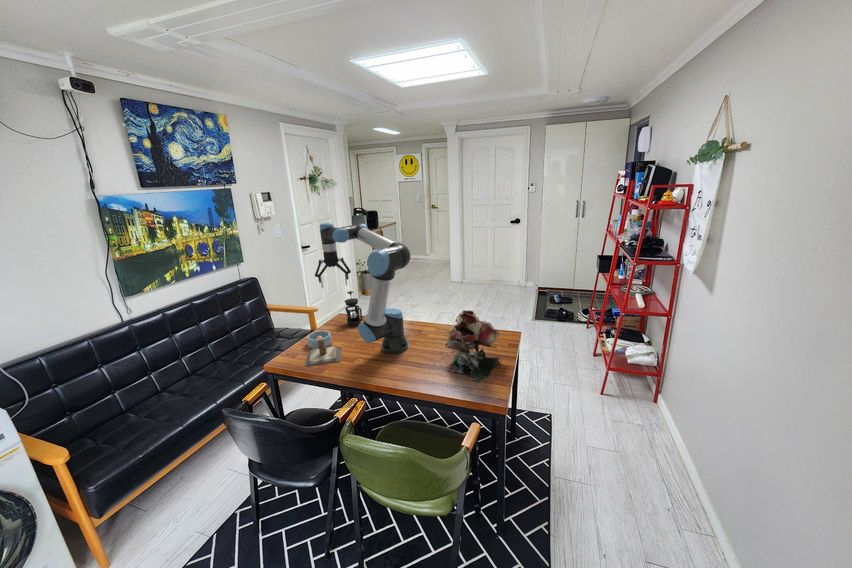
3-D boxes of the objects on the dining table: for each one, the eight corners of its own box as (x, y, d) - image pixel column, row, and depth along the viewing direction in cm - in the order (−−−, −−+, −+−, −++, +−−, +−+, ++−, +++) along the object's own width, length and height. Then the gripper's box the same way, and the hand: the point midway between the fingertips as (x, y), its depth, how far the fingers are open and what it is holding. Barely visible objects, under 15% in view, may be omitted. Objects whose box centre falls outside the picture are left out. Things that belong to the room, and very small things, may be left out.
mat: (340, 348, 207) (340, 347, 207) (339, 361, 192) (339, 360, 192) (308, 352, 204) (308, 351, 204) (305, 366, 189) (305, 365, 189)
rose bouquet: (503, 356, 189) (503, 303, 180) (483, 385, 165) (483, 326, 156) (459, 347, 201) (457, 297, 192) (434, 372, 177) (432, 317, 168)
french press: (343, 325, 238) (339, 293, 231) (351, 320, 246) (347, 289, 239) (358, 327, 233) (354, 294, 226) (366, 322, 242) (362, 290, 235)
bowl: (331, 338, 221) (330, 329, 219) (330, 347, 209) (329, 338, 207) (310, 341, 218) (308, 332, 216) (308, 350, 206) (306, 341, 204)
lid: (336, 348, 206) (334, 333, 203) (336, 360, 193) (333, 344, 190) (311, 352, 203) (309, 337, 200) (309, 364, 190) (306, 348, 187)
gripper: (352, 247, 206) (356, 282, 213) (307, 251, 201) (313, 286, 208) (352, 249, 199) (356, 285, 206) (306, 254, 194) (312, 290, 201)
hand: (334, 286), depth 207 cm, fingers open, 13 cm apart
